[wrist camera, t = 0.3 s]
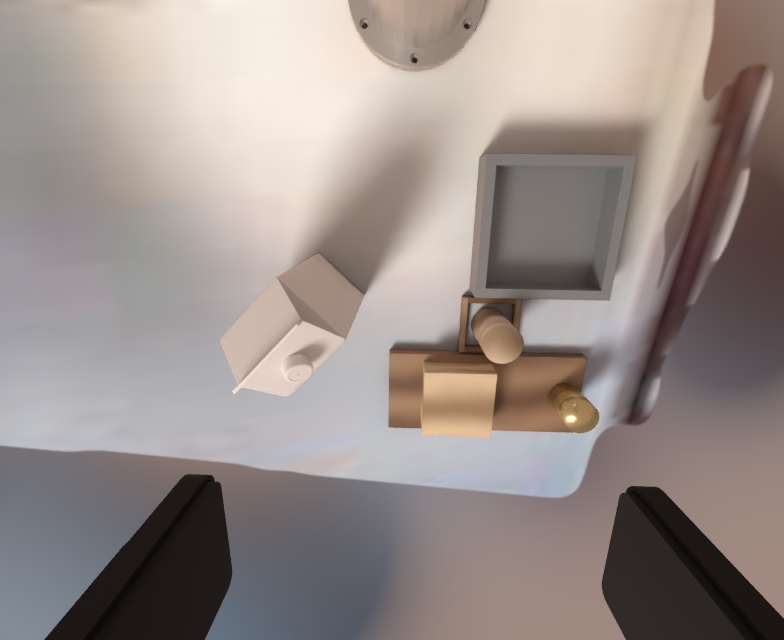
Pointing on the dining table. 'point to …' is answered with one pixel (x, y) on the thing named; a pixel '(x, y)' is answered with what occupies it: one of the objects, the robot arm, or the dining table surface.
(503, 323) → the dowel
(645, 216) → the dining table surface
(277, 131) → the dining table surface
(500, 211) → the tray
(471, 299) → the socket ring
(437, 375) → the thick square wood block
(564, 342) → the dining table surface
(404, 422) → the board
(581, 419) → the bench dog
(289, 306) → the milk carton
